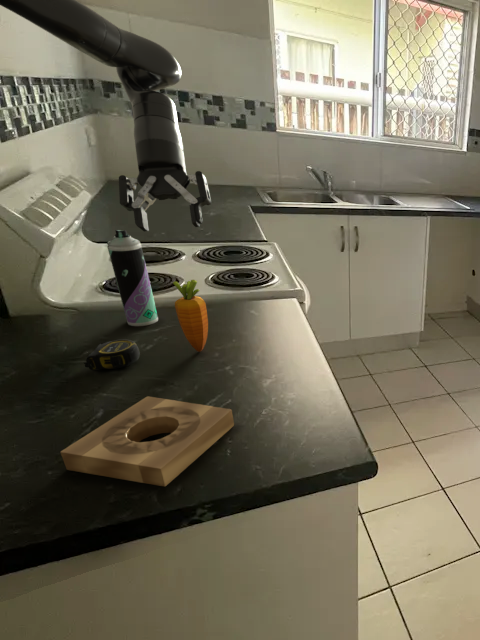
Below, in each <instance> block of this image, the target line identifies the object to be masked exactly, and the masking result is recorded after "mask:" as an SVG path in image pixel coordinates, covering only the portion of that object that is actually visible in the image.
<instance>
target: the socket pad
mask: <svg viewBox="0 0 480 640" xmlns="http://www.w3.org/2000/svg"><path fill="white" fill-rule="evenodd" d="M234 426H235V420H234V416H233V410H232V409H230V408H225V407H218V406H213V405H207V404H200V403H194V402H187V401H180V400H174V399H168V398H161V397H154V396H148V395H147V396H146V397H144V398H142V399H141V400H139V401H138V402H136V403H134V404H133V405H131V406H130V407H128V408H127V409H125V410H124V411H122V412H120V413H119V414H117V415H115V416H113V418H110V420H108V421H106V422H104V423H103V424H101V425H100V426H98V427H97V428H95V429H93V430H92V431H90V432H89V433H87V434H86V435H84V436H83V437H81V438H79V439H78V440H76V441H75V442H73V443H72V444H70V445H68V446H67V447H66V448H64V449H62V450H61V451H60V455H61V458H62V461H63V463H64V466H65V469H66V470H67V471H72V472H79V473H84V474H89V475H95V476H99V477H100V476H101V477H106V478H112V479H117V480H118V479H119V480H124V481H130V482H136V483H140V484H147V485H153V486H158V487H167V486H168V485H169V484H170V483H171V482H172V481H173V480H175V479H176V478H177V477H178V476H179V475H181V473H183V472H184V471H185V470H186V469H187V468H188V467H190V465H192V464H193V463H194V462H195V461H196V460H197V459H198V458H199V457H200V456H202V455H203V454H204V453H206V451H207V450H208V449H210V448H211V447H212V446H213V445H214V444H215V443H217V441H219V439H221V438H222V437H224V435H226V434H227V433H228V432H229V431H230V430H231V429H232V428H233V427H234ZM160 434H168V435H166V436H164V437H161V438H158V439H155V440H150V441H142V440H145V439H147V438H150V437H153V436H157V435H160Z"/></svg>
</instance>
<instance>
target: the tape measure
mask: <svg viewBox="0 0 480 640" xmlns="http://www.w3.org/2000/svg"><path fill="white" fill-rule="evenodd" d="M140 353H141V352H140V349H139V347H138V344H137V343H136V342H135V341H134V340H131V339H116V340H110V341H104V342H101V343H99V344H98V345H97V346H96V347H95V348H94V350H93V351H92V352H91V353H90V354H88V355H87V357H86V359H85V361H84V362H83V365H84V367H85V368H88V369H90V370H91V371H98V370H102V369H104V370H115V369H120V368H121V369H122V368H126V367H127V366H130V365H133V364H134V363H136V362H138V360H139V358H140V355H141V354H140Z"/></svg>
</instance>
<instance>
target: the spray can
mask: <svg viewBox="0 0 480 640" xmlns="http://www.w3.org/2000/svg"><path fill="white" fill-rule="evenodd" d="M106 244H107V251H108V254H109V258H110V262H111V266H112V270H113V275H114V278H115V281H116V285H117V288H118V292H119V293H118V294H119V296H120V300H121V304H122V309H123V312H124V315H125V319H126V322H127V325H128V326H131V327H144V326H150V325H153V324H155V323H157V322H158V321H159V316H158V312H157V308H156V302H155V298H154V295H153V289H152V286H151V282H150V276H149V272H148V269H147V264H146V259H145V256H144V255H145V254H144V252H143V247H142V244H141V241H140V240H139V239H136V238H134V237H132V235H130V234H129V233H128V232H127V230H126V229H123V230H121V229H115V234H114V235H113V238H112V239H111V240H108V241H107V242H106Z"/></svg>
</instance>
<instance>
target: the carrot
mask: <svg viewBox="0 0 480 640" xmlns="http://www.w3.org/2000/svg"><path fill="white" fill-rule="evenodd" d="M172 284H173V285H174V286H175V288H176V289H177V290H178V292H179V293H180V294H181V295H182V297H180V298H178V299H176V301H174V308H175V312H176V316H177V320H178V323H179V327H180V328H181V331H182V332H183V334H184V337H185V338H186V340H187V342H188V343H189V344H190V345H191V347H192V348H194V349H195V351H196V352H198V353H200V352H202V351H203V349H204V348H205V346H206V343H207V340H208V334H209V318H208V311H207V304H206V301H205V300H204V299H203V298H202V297H201V296H198V295H197V294H198V293H199V292H200V289H199V288H196V286H197V284H198V281H197V280H195V279H191V280H188V281H187V282H186V283H183V284H182V285H181V284H179V282H178V281H176V280H175V281H173V282H172ZM195 288H196V289H195Z"/></svg>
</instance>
